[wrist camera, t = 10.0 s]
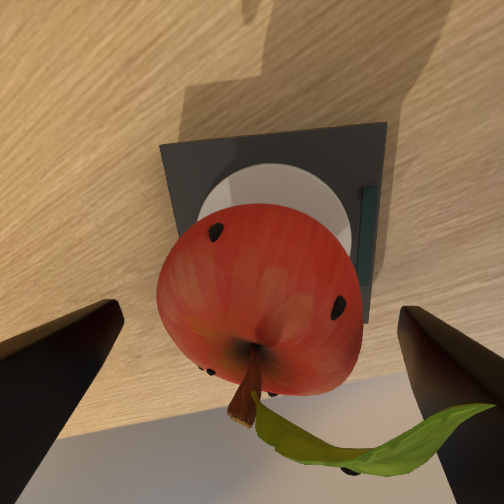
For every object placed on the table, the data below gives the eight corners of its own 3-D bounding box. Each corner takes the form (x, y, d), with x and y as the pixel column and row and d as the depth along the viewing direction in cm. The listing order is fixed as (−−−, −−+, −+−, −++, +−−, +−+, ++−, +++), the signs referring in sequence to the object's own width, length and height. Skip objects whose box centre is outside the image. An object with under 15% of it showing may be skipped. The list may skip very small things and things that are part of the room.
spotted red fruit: (277, 328, 15) (238, 611, 6) (180, 252, 14) (-25, 460, 5) (392, 234, 12) (637, 546, 3) (275, 128, 11) (151, 140, 2)
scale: (376, 122, 13) (391, 122, 10) (361, 302, 17) (370, 331, 14) (176, 142, 15) (151, 145, 12) (206, 299, 19) (192, 324, 16)
